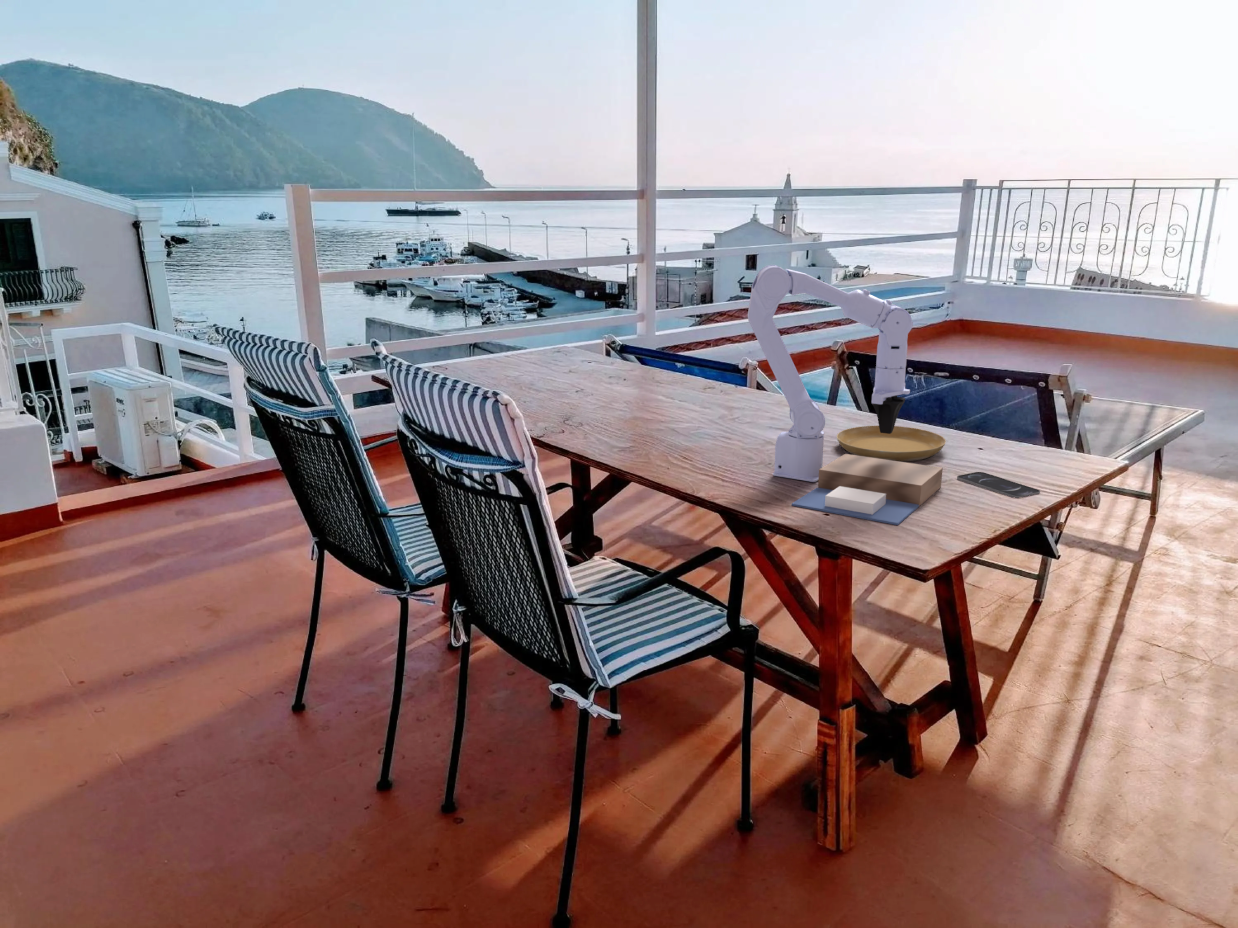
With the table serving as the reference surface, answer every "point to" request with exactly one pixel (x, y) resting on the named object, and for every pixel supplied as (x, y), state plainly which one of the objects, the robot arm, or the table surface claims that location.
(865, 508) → the tile
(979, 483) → the smartphone
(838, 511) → the mat
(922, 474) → the stand
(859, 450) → the plant saucer
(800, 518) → the table surface
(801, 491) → the table surface
